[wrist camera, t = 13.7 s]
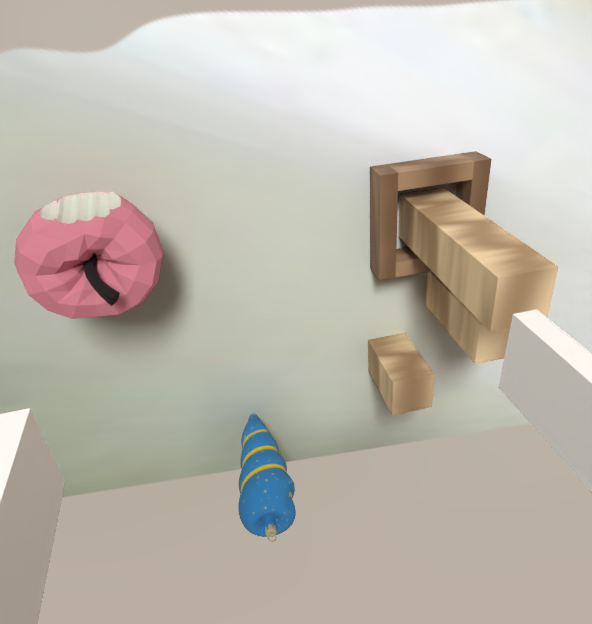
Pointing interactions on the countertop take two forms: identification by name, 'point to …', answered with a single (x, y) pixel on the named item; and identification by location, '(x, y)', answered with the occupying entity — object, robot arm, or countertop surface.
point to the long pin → (476, 257)
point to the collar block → (409, 175)
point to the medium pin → (464, 324)
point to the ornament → (264, 483)
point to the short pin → (400, 373)
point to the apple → (89, 255)
